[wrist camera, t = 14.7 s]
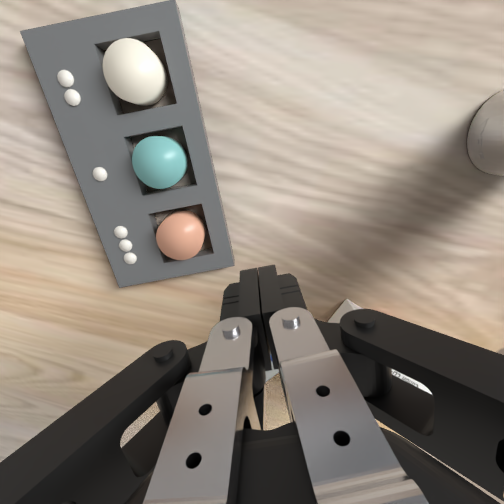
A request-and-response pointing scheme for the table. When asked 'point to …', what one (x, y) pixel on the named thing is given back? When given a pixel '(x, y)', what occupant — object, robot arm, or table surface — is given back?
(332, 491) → the robot arm
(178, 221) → the terracotta button
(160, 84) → the cream button
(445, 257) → the table surface
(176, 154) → the teal button
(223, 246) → the button panel
